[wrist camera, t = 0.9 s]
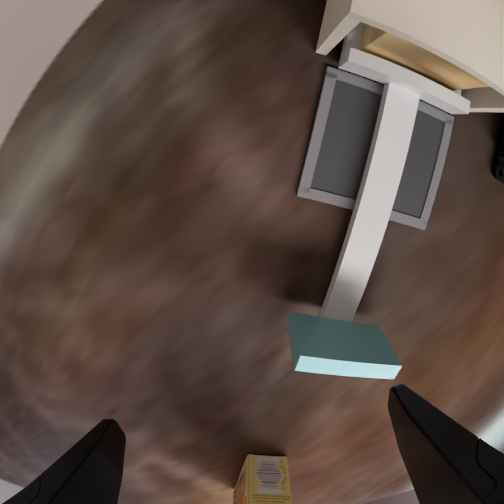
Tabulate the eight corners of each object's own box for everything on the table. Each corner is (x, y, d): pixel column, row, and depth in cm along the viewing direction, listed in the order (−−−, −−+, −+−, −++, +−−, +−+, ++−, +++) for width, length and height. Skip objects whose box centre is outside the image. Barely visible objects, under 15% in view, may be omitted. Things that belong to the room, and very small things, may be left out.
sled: (463, 6, 13) (506, -12, 8) (379, 333, 21) (405, 379, 16) (359, -43, 12) (386, -81, 8) (273, 317, 20) (279, 368, 16)
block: (459, 11, 12) (495, -4, 9) (450, 90, 14) (491, 86, 11) (373, -30, 12) (399, -60, 8) (359, 50, 14) (388, 31, 10)
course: (471, -51, 11) (520, -79, 4) (431, 231, 19) (493, 273, 12) (349, -109, 10) (375, -160, 4) (282, 191, 18) (300, 224, 12)
